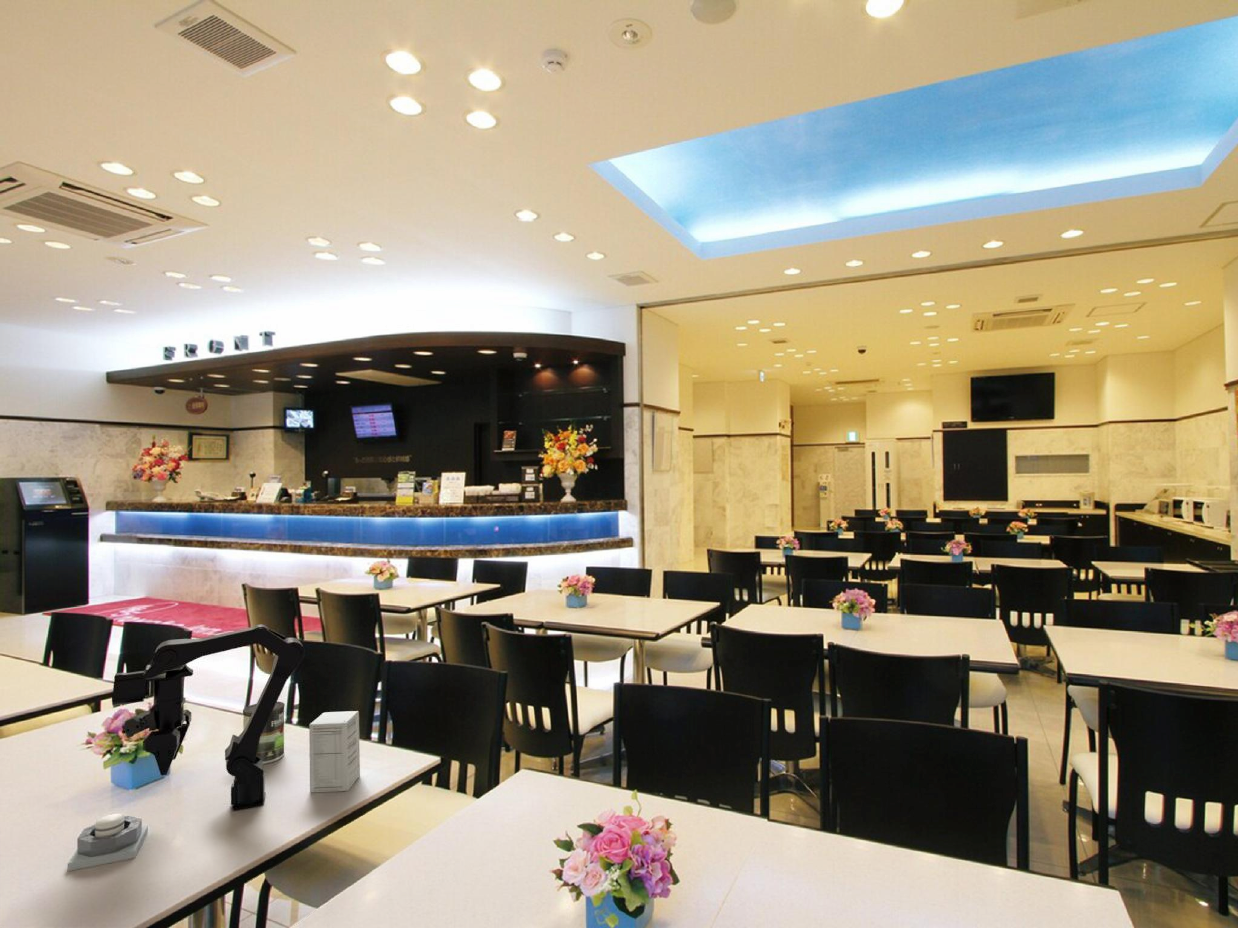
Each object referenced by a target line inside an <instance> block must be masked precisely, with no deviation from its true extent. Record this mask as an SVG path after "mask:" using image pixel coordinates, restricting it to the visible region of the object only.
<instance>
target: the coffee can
mask: <svg viewBox="0 0 1238 928" xmlns="http://www.w3.org/2000/svg"><path fill="white" fill-rule="evenodd" d="M256 704H257V703H255V704H251V705H248V706H246V707H245V708H243V710H242V714H243V715H242V716H243V723H242V724H243V725H242V726H243V730H244V729H245V727H246V725H247V723H248V721H249V719H250V717H251V715H252V712H253V710H254V708H255V706H256ZM285 706H286V705H285V703H284V702H282V701H277V702H276V704H275V707H274V709H273V711H272V713H271V715H270V717H269V719H268V722H267V724H266V726H265V728H264V730H263V732H262V734H261V737H260V741H259V746H258V750H257V756H258V757H260V758H261V759H262V762H263V765H266V764H270V763H273V762H274V763H275V762H276V761H278V760H280V759H282V758H283V757H284V756H285Z"/></svg>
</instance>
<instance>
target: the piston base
mask: <svg viewBox="0 0 1238 928" xmlns="http://www.w3.org/2000/svg"><path fill="white" fill-rule="evenodd" d="M124 816H125V815H124V814H123V813H113V814H109V815H106V816H103V817H100V818H99V819H97V820H96V821H95V822H94V825H95V837H102V836H108V835H113V834H116V833H118V832H120V831H122V830H124V821H125V819H124ZM148 827H149V826H148V825H146V826H142V833H141V835H140V837H139V839H138V841H137V842H136V843H134V844H132V845H130V846H128V847H126V848H124V849H122V850H120V851H118V852H116V853H111V854H105V855H100V856H95V857H88V856H84V855H81V854H77V850H76V851H75V852H74V853H73V855H72V857H71V858H70V860H69V861H68V863H67V872H71V871H76V870H81V869H86V868H91V867H97V866H101V865H106V864H110V863H117V862H121V861H122V862H123V861H127V860H132V859H135V858H136V856H137V854H138V853H139V851H140V849H141V847H142V845H143V843H144V841H145V839H146V837H147V835H148V834H149V833H148V832H149V831H148Z"/></svg>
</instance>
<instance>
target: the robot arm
mask: <svg viewBox="0 0 1238 928" xmlns="http://www.w3.org/2000/svg"><path fill="white" fill-rule="evenodd" d="M256 644H258V645H260V646H262V647H263V648H265V649H266V650H267V651H269V652H271V653H272V654H274V659H273V661H272V662H273V663H272V667H271V673H270V674H269V677H268V679H267V681H266V683H265V685H264V688H263V690H262V691H261V693H260V696H259V697H258V699H257V702H256V703H255V704H256V706H255V708H254V710H253V712H252V715H251V717H250V719H249V721H248V723H247V725H246V727H245V729H244V730H243V731H242V732H241V733H240V734H239V735H236V734H232V735H231V738H230V743H229V745H228V746H227V747H226V748H225V749H224V760H225V769H226V771H227V773H228V774H229V775H230V776H232V777H234V779H233V783H232V784H231V786H230V805H231V806H232V811H237V810H241V809H243V810H244V809H248V808H253V807H254V808H255V807H260V806H264V804H265V799H266V791H265V789H266V788H265V786H266V785H265V783H266V782H265V780H266V779H265V776H266V775H265V769H264V764H263V762H262V759H261V758H260V757H258V756H257V750H258V746H259V741H260V737H261V734H262V732H263V730H264V728H265V726H266V724H267V722H268V719H269V717H270V715H271V713H272V711H273V709H274V707H275V704H276V702H278V700H279V698H280V696H281V694H282V691H283V690H284V687H285V685H286V682H287V681H288V679H289V678H290V677H291V676H292V675H293V674H294V673H295V671H296V670H297V669H298V667H299V665H300V664H301V663H302V661H303V660H304V658H305V654H306V650H305V648H304V645H303V643H301V641H300V640H299V639H297V638H296V637H286V636H284V635H283V634H281V633H278V632H276V631H275V630H272V629H270V628H269V627H267V626H266V625H265V624H260V623H259V624H257V625H256V624H255V626H251V627H246V628H242V629H238V630H233V631H227V632H223V633H219V634H216V635H211V636H206V637H202V638H180V639H168V640H165V641H163V642H160V644H158V646H157V647H156V649H155V651H154V654H153V657H152V660H151V662H150V663H148V664H147V665H146V667H145V670H140V671H133V672H117V673H115V675H114V677H113V678H114V679H113V687H112V689H113V690H112V691H111V704H112V706H113V707H115V706H121V705H127V704H135V703H144V702H145V699H146V698H147V697H150V696H151V689H152V688H151V687H152V686H151V685H152V682H153V704H152V706H150V707H149V709H148V710H146V711H144V712H142V713H138V714H136V715H134V716H132V717H130V718H129V717H128V718H127V719H126V720H125V721H124V722H123V723H122V724H121V728H122V730H121V733H122V734H125V736H126V738H127V739H129V738H132V737H134V735H137V734H138V733H141V732H143V731H146V730H148V731H149V732H150V733H148V735H147V736H146V737H145V738H144V739H143V741H142V751H145V753H149V754H152V755H153V756H154V759H155V761H156V766H157V768H158V770H159V773H160V776H166V775H168V773H169V770H170V768H171V765H172V762H173V761H174V760H176V758H177V756H178V755H179V754H178V753H179V751H180V750H181V746H182V744H183V742H184V739H185V737H186V734H187V732H188V730H189V727H190V725H191V722H192V712H191V711H190V710H189V709H186V708H185V709H184V707H185V706H184V705H185V703H186V697H185V696H184V695H185V694H184V690H185V689H184V688H185V687H184V685H185V683H184V681H185V677H186V678H187V677H191V676H193V675H194V670H193V668H191V667H189V666H188V665H187V664H190V663H191V662H193V661H196V660H197V659H200V658H202V657H205V656H210V655H214V654H217V653H222V652H226V651H231V650H234V649H239V648H244V647H247V646H252V645H256ZM179 667H180V668H179ZM164 671H165V673H163V672H164Z"/></svg>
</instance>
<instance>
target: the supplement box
mask: <svg viewBox="0 0 1238 928" xmlns="http://www.w3.org/2000/svg"><path fill="white" fill-rule="evenodd" d="M308 727H309V728H308V729H309V731H308V732H309V793H329V792H330V793H331V792H334V793H335V792H348V791H349V790H350V789H351V787H352V786H353V784H354V783H355V782H356V781H357V780H358V779H359V778H360V776H361V765H360V764H361V761H360V757H361V756H360V755H361V753H360V750H361V749H360V712H359V711H358V710H356V711H355V710H354V711H353V710H349V711H329V712H328V711H326V712H322V713H321V714H320V715H319V716H318V717H317V718H315V719H314V720H313V721H312V722H310V723H309V726H308Z"/></svg>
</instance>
